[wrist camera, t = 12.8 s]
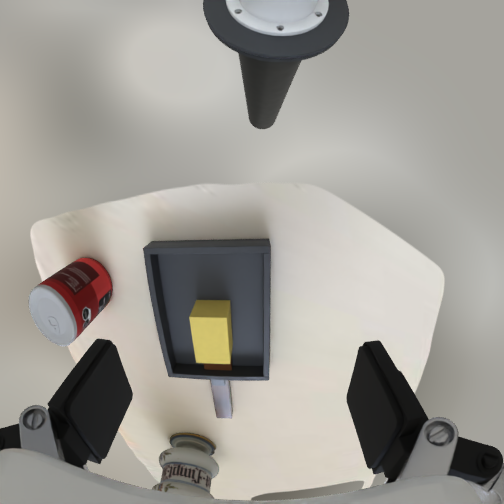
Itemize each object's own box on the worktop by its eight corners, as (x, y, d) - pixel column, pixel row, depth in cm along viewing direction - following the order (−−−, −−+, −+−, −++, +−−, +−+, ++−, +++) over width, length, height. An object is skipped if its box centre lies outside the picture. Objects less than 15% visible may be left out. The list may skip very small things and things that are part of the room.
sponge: (196, 299, 35) (189, 316, 31) (230, 300, 35) (226, 317, 31) (201, 343, 37) (196, 362, 33) (232, 344, 37) (230, 364, 33)
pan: (151, 241, 33) (142, 248, 30) (269, 238, 33) (270, 245, 30) (173, 364, 39) (168, 376, 36) (268, 367, 39) (268, 380, 36)
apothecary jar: (219, 460, 48) (212, 526, 31) (167, 451, 48) (151, 514, 31) (222, 435, 45) (214, 512, 28) (162, 424, 44) (140, 497, 27)
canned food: (89, 311, 37) (51, 350, 26) (64, 265, 35) (19, 296, 24) (123, 298, 36) (86, 341, 25) (97, 248, 34) (50, 278, 23)
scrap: (202, 343, 37) (201, 348, 36) (230, 344, 37) (230, 349, 36) (205, 364, 38) (204, 369, 37) (232, 365, 38) (231, 370, 37)
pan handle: (210, 364, 39) (208, 376, 36) (227, 365, 39) (226, 377, 36) (217, 410, 42) (216, 422, 40) (232, 410, 42) (231, 422, 39)
